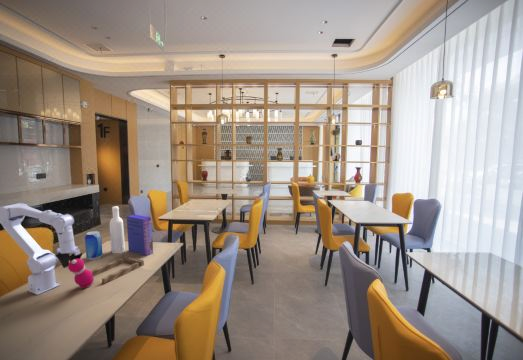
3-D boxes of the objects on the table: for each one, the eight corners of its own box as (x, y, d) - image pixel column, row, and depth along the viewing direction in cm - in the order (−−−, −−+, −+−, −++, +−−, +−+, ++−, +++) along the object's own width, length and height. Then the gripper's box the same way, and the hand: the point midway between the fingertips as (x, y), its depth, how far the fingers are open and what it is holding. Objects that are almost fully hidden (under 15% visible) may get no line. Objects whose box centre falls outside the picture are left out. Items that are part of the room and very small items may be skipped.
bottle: (114, 254, 162) (111, 208, 159) (109, 251, 167) (106, 207, 164) (127, 250, 169) (124, 206, 165) (121, 247, 173) (119, 204, 170)
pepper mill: (87, 290, 122) (74, 270, 109) (73, 285, 123) (59, 265, 109) (98, 277, 127) (87, 256, 114) (85, 272, 128) (72, 251, 115)
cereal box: (153, 253, 164) (151, 217, 162) (146, 255, 160) (144, 219, 157) (135, 248, 172) (133, 214, 169) (128, 251, 168) (126, 215, 165)
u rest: (104, 283, 126) (104, 279, 126) (86, 277, 133) (85, 273, 132) (143, 264, 148) (143, 260, 147) (126, 260, 154) (126, 256, 153)
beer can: (105, 255, 161) (103, 230, 160) (95, 260, 153) (93, 235, 151) (93, 254, 162) (91, 230, 160) (83, 260, 154) (80, 234, 152)
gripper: (85, 238, 121) (89, 265, 122) (66, 236, 126) (70, 262, 128) (69, 244, 114) (73, 272, 116) (50, 241, 120) (54, 268, 121)
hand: (71, 267), depth 121 cm, fingers open, 7 cm apart
